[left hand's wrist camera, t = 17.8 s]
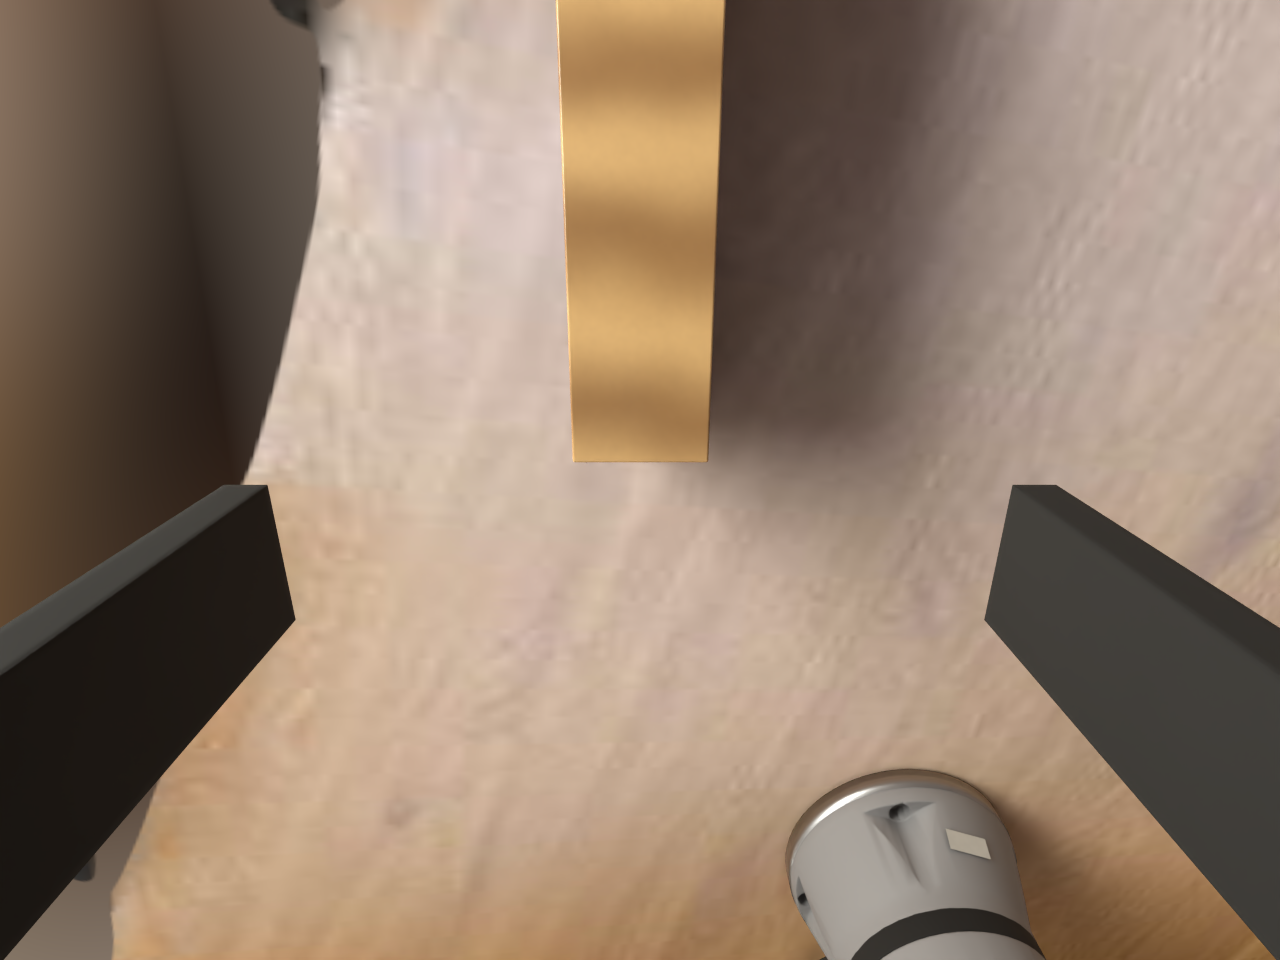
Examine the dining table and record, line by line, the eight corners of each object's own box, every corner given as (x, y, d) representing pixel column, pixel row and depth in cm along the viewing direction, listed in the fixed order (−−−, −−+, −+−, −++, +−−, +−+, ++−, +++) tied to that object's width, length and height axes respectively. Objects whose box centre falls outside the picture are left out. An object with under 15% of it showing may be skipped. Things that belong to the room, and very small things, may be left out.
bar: (693, 408, 37) (708, 462, 29) (587, 408, 37) (572, 462, 29) (712, -250, 27) (743, -448, 19) (569, -250, 27) (538, -448, 19)
